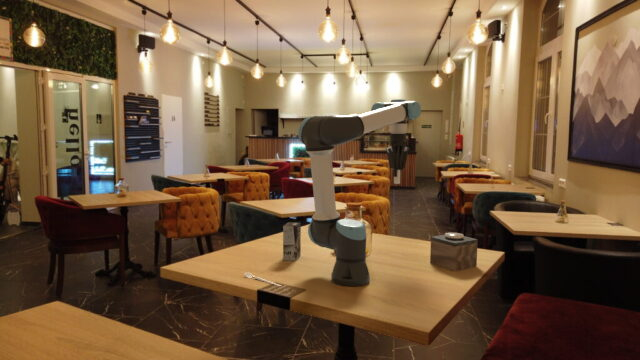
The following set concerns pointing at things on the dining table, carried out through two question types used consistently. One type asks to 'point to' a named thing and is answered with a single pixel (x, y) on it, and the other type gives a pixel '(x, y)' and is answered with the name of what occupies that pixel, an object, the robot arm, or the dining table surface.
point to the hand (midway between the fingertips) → (396, 183)
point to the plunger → (454, 236)
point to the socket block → (453, 252)
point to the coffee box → (291, 241)
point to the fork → (259, 278)
